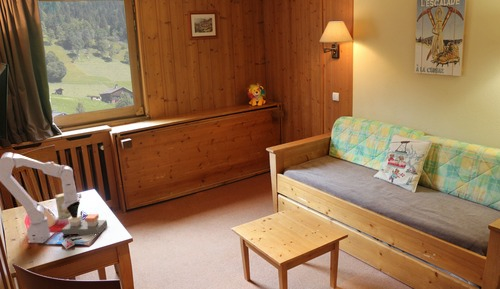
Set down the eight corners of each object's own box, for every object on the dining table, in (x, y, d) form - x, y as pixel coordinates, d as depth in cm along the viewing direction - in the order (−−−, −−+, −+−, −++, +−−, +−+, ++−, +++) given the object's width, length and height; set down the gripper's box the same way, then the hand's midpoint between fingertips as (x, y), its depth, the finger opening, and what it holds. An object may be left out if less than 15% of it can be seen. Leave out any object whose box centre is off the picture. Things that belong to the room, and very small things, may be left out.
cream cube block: (78, 227, 208) (76, 219, 207) (69, 227, 209) (67, 218, 208) (83, 223, 212) (81, 214, 211) (74, 223, 213) (72, 214, 212)
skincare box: (61, 219, 225) (56, 197, 222) (58, 216, 228) (54, 195, 225) (73, 215, 229) (69, 193, 226) (70, 212, 232) (66, 191, 229)
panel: (97, 235, 205) (96, 229, 204) (63, 234, 207) (62, 229, 206) (107, 225, 214) (106, 220, 213) (74, 225, 217) (73, 219, 216)
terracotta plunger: (95, 227, 207) (93, 218, 205) (86, 227, 207) (84, 218, 206) (99, 222, 211) (98, 214, 210) (91, 222, 212) (89, 214, 210)
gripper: (69, 197, 198) (74, 223, 202) (85, 185, 212) (89, 210, 216) (55, 197, 199) (60, 223, 203) (71, 185, 213) (76, 210, 217)
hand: (74, 217), depth 209 cm, fingers closed, pressing on cream cube block
